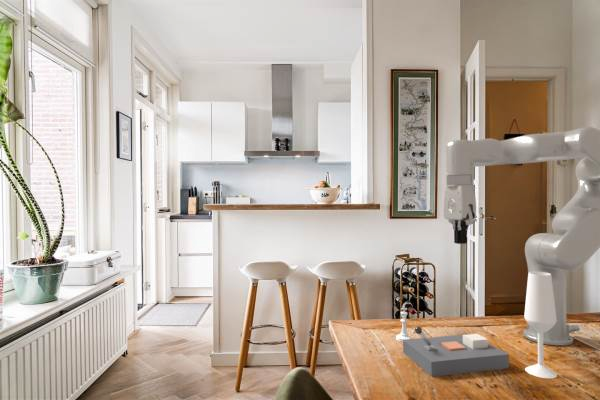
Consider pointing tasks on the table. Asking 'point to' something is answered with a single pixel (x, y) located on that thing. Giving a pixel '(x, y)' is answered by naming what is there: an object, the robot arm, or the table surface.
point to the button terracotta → (453, 346)
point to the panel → (453, 356)
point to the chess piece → (403, 327)
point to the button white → (475, 341)
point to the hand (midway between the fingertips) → (460, 243)
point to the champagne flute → (540, 316)
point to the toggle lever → (422, 336)
